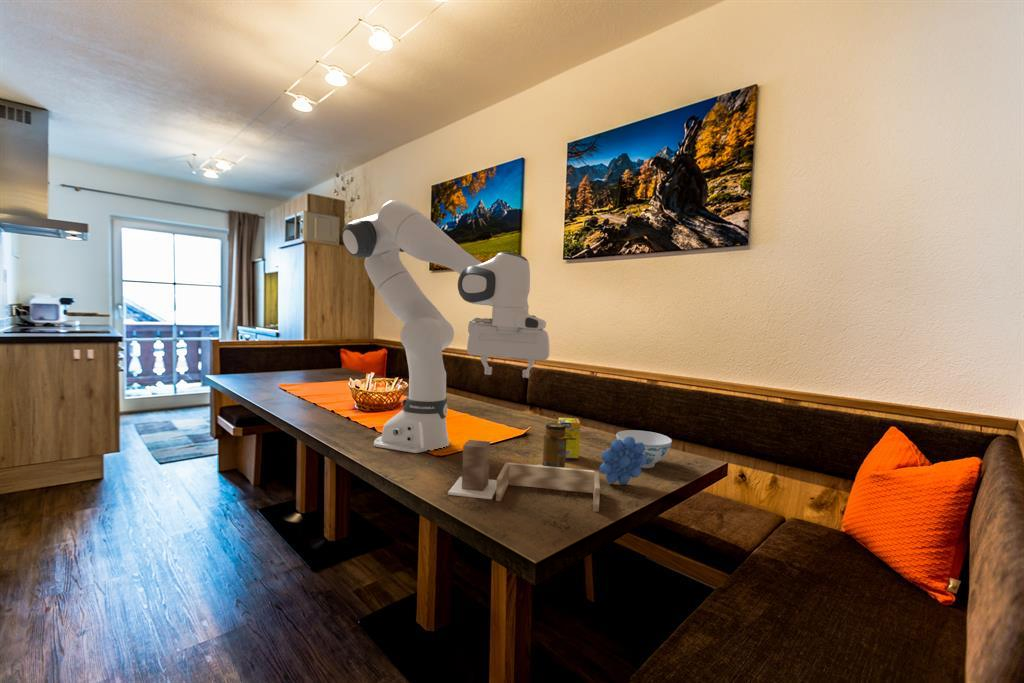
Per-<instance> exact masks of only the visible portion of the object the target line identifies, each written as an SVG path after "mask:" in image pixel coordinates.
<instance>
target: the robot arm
mask: <svg viewBox="0 0 1024 683" xmlns="http://www.w3.org/2000/svg"><path fill="white" fill-rule="evenodd" d="M341 238H342V243H343V246H344V248H345V249H346V252H348V253H349V255H351V256H352V257H354V258H357V259H364V258H365V260H364V268H365V271H366V273H367V276H368V277H369V279H370V282H371V283H372V285H373V287H374V288H375V290H376V291H377V293H378V294H379V296H380V297H381V299H382V300H383V302H384V304H386V306H387V308H388V310H389V311H390V312H391V314H392V315H394V316H395V317H396V318H398V320H400V321H401V322H402V323H403V324H404V325H403V326H402V328H401V331H400V342H401V344H402V346H403V348H404V350H405V356H406V360H407V361H406V362H407V367H408V376H409V377H408V378H409V379H408V397H406V398H405V399H403V400H402V401H401V402H400V403H401V404H400V407H401V406H402V410H400V411H399V412H397V414H395V415H394V416H392V417H391V418H389V419H388V420H387V421H386V422H385V423H384V425H383V428H382V431H381V432H382V433H381V435H380V436H377V437H376V438H375V439H374V441H373V446H374V447H377V448H383V449H388V450H395V451H401V452H408V453H413V454H418V453H422V452H423V453H424V452H428V451H427V450H430V451H433V450H432V449H438V448H442V449H444V448H443V447H445V448H447V447H449V446H450V444H449V443H450V439H449V435H448V429H447V428H448V427H447V420H446V418H447V416H448V415H447V414H448V399H447V397H446V396H447V371H446V369H445V364H444V359H443V350H445V349H447V348H448V347H449V346H450V345H451V343H452V342H453V340H454V336H455V331H454V327H453V325H452V324H451V323H450V322H449V321H448V320H447V319H446V318H445V317H444V315H443V314H442V313H441V312H440V310H438V309H437V307H436V306H435V305H434V304H433V302H431V301H430V300H429V299H428V297H427V296H426V295H425V294H424V292H423V291H422V289H421V288H420V286H419V285H418V283H417V282H416V281H415V279H414V278H413V276H412V275H411V273H410V272H409V271H408V269H407V267H406V266H405V264H403V262H402V261H401V258H400V252H401V253H406V254H407V255H409V256H412V257H413V258H415V259H417V260H419V261H424V262H427V263H432V264H435V265H439V266H443V267H446V268H448V269H450V270H452V271H454V272H456V273H457V274H459V277H458V278H457V279H458V280H457V291H458V294H459V295H460V297H461V299H463V300H464V301H465V302H467V303H470V304H472V305H480V306H488V307H489V306H490V307H492V308H491V309H492V310H491V318H488V317H485V318H479V317H475V318H474V319H471V320H470V321H469V322H468V325H467V328H468V329H467V331H468V332H467V333H468V338H467V347H466V352H467V353H468V355H470V356H480V362H481V364H482V365H483V368H484V372H483V373H484V375H489V376H490V375H492V372H493V366H489V364H488V360H489V357H492V358H493V357H495V358H505V359H506V358H510V359H519V360H520V359H522V360H527V364H528V366H527V368H526V369H523V370H522V375H521V376H522V378H523V379H524V378H526V379H529V378H530V370H531V369H532V368H533V366H534V365H535V361H547V360H548V359H549V357H550V338H549V334H548V331H546V329H545V328H546V326H547V322H546V320H544V319H542V318H539V317H537V316H536V315H533V314H529V309H530V308H529V303H528V301H529V300H528V299H529V295H530V294H529V293H530V292H531V291H530V289H531V269H530V262H529V260H528V259H527V258H526V257H525V256H524V255H521V254H516V253H513V252H507V251H501V252H498V253H497V254H496V255H495V256H494V257H491V258H490V259H489V260H487V261H485V262H482V261H481V260H479V259H478V258H477V257H475V256H474V255H472V254H471V253H469V251H467V250H465V249H464V248H462V247H461V246H460V245H459V244H458V243H457V242H455V241H454V239H452V238H451V237H450V236H449V235H448V234H446V233H445V232H444V231H443V229H441V228H440V227H439V226H438V225H437V224H436V223H435V222H434V221H432V220H431V218H429V217H428V216H426V215H425V214H424V213H422V212H421V211H419V210H418V209H416V208H414V207H413V206H412V205H409V204H407V203H405V202H403V201H400V200H397V199H396V200H395V199H393V200H389V201H387V202H385V203H383V205H382V206H381V207H380V209H379V210H378V212H377V213H374V214H371V215H368V216H365V217H362V218H359V219H354V220H352V221H350V222H348V223H346V224H345V225H344V227H343V228H342V232H341ZM446 446H447V447H446ZM438 450H439V449H438Z"/></svg>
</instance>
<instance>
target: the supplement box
mask: <svg viewBox="0 0 1024 683" xmlns="http://www.w3.org/2000/svg"><path fill="white" fill-rule="evenodd" d="M557 423H560V424H563V425H565V426H566V428H565V431H566V433H565V435H566V437H567V439H566V443H567V444H566V460H565V461H578V462H579V459H580V458H579V457H580V437H581V422H580V420H579V418H573V417H572V418H571V417H558V419H557Z"/></svg>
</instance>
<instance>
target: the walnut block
mask: <svg viewBox="0 0 1024 683" xmlns="http://www.w3.org/2000/svg"><path fill="white" fill-rule="evenodd" d="M490 448H491V442H490V441H486V440H475V439H468V440H467V441H466V442H465V443H464V445H463V446H462V468H461V469H462V470H461V477H462V489H467V490H476V491H484V489H485V488H486V486H487V485H488V480H489V479H490V477H489V476H490V475H489V472H490V453H491V452H490V450H491V449H490Z"/></svg>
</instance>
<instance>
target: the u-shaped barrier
mask: <svg viewBox="0 0 1024 683" xmlns="http://www.w3.org/2000/svg"><path fill="white" fill-rule="evenodd" d="M496 480H497V488H496V493H495V502H496V501H497V502H501V501H502V498H503V497H504V494H505V492H506V490H507V488H508V486H519V487H520V486H521V487H528V488H529V487H530V488H531V487H532V488H541V489H547V490H558V491H568V492H576V493H577V492H578V493H579V492H580V493H588V494H592V495H593V496H592V497H593V512H595V513H596V512H600V493H601V486H600V484H601V483H600V470H591V469H579V468H569V467H565V468H561V467H550V466H539V465H538V464H527V463H517V462H505V463H504V465H503V466H502V469H501V470H500V472H499V473H498V476H497V477H496Z"/></svg>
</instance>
